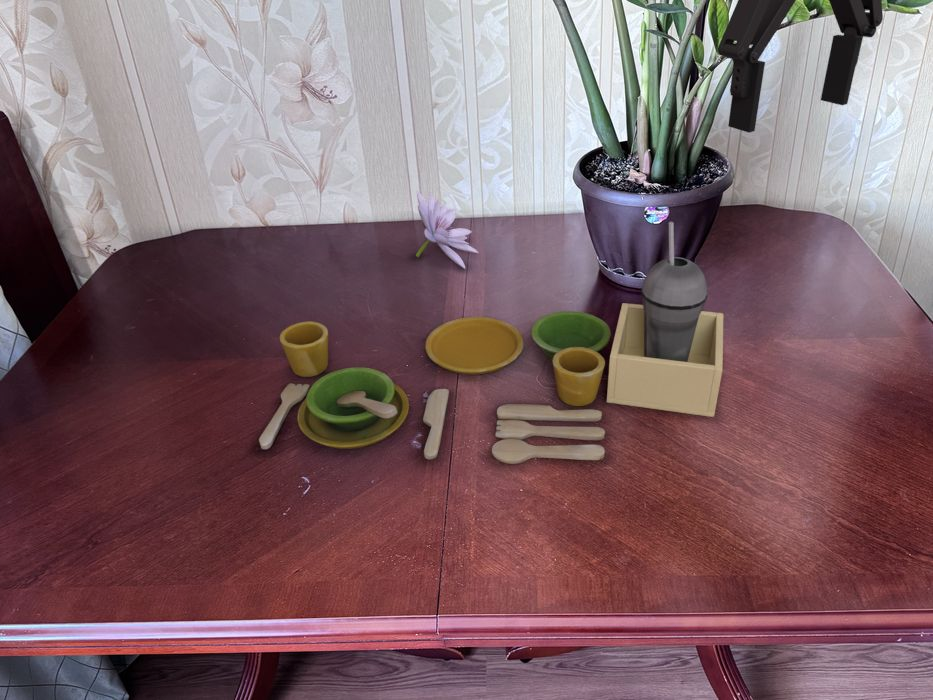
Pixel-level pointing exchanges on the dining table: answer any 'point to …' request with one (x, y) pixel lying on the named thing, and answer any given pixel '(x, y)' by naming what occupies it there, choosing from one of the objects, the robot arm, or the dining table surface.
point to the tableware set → (461, 351)
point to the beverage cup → (672, 306)
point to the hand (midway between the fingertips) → (788, 115)
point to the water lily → (442, 228)
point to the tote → (666, 367)
